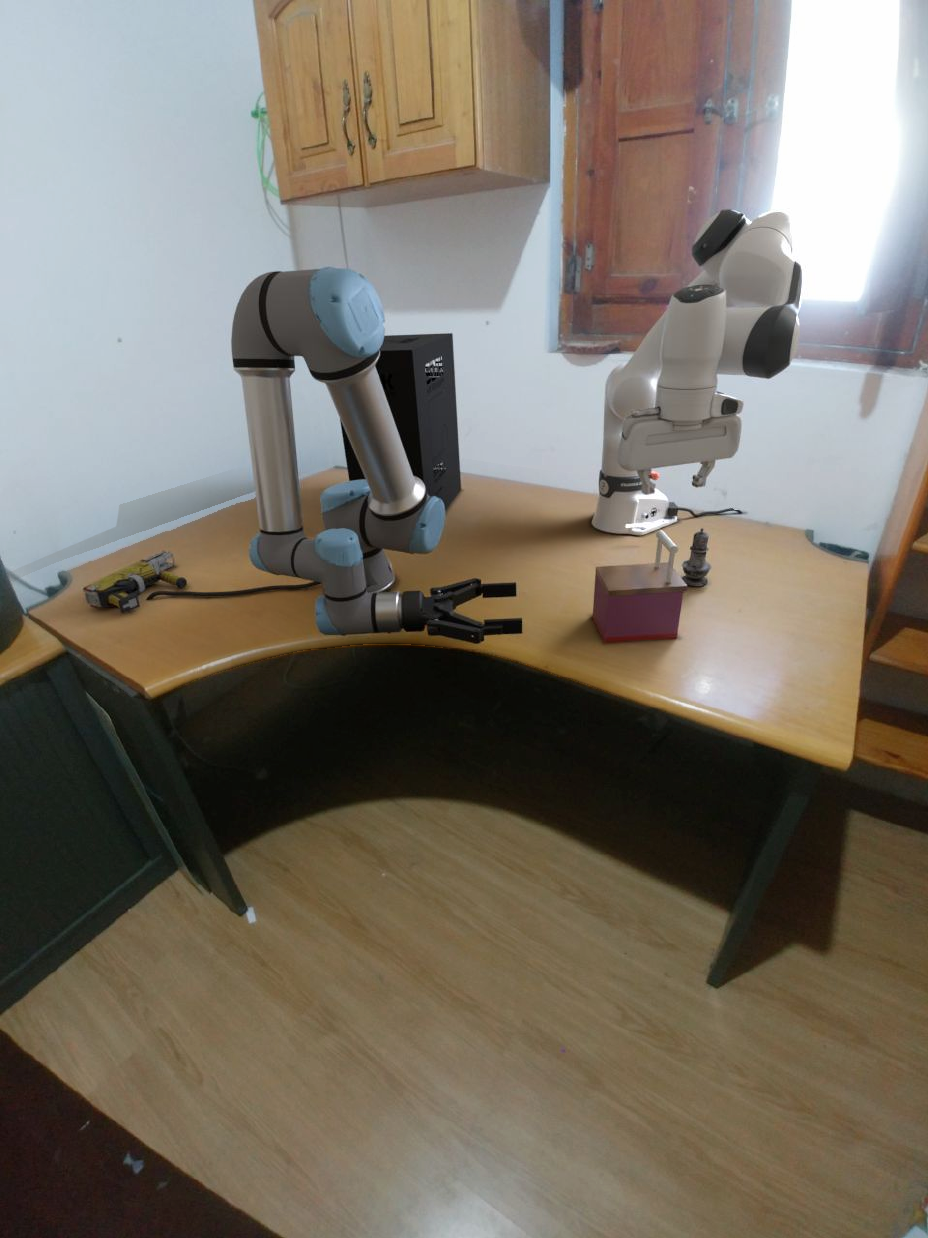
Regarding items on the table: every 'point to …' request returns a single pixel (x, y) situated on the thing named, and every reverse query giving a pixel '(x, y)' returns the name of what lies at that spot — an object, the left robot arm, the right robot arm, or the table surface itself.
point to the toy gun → (131, 583)
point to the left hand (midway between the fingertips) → (519, 606)
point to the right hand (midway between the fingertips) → (673, 489)
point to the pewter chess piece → (697, 561)
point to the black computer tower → (420, 410)
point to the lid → (644, 574)
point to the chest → (636, 615)
